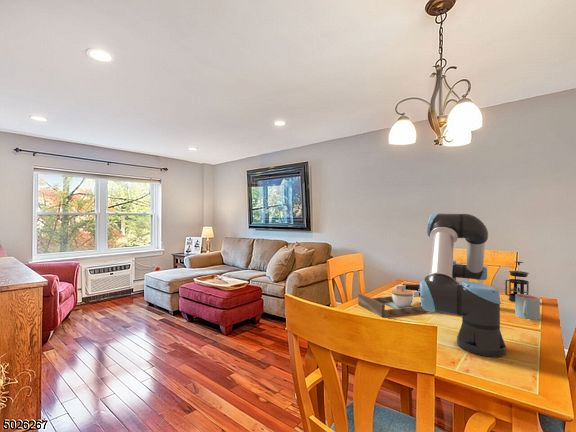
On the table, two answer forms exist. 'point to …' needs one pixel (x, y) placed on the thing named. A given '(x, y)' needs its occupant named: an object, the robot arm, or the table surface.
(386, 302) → the bay
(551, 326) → the table surface
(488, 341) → the robot arm
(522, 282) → the french press
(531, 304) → the mug
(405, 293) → the lidded jar
